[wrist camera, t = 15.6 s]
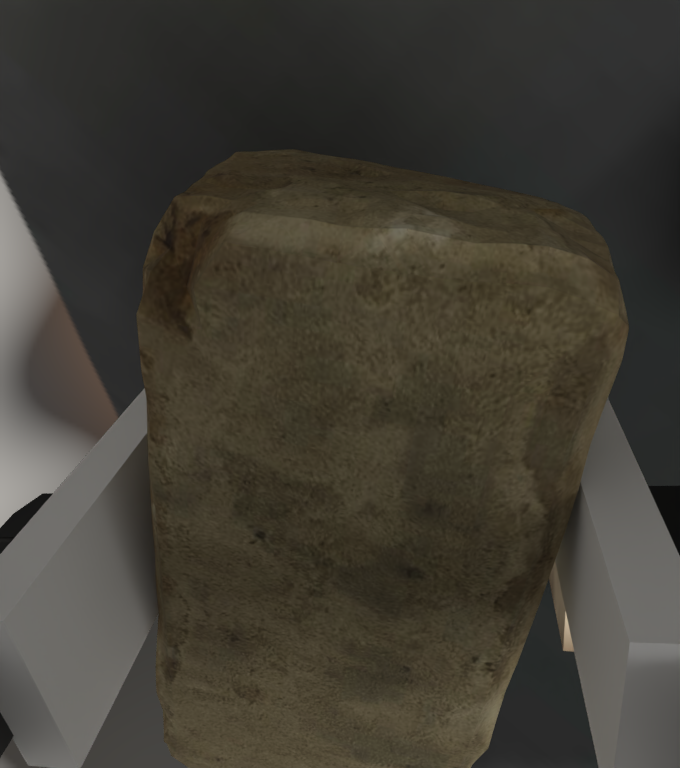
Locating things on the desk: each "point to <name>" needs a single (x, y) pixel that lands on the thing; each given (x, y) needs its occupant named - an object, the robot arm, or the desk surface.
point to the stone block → (361, 452)
